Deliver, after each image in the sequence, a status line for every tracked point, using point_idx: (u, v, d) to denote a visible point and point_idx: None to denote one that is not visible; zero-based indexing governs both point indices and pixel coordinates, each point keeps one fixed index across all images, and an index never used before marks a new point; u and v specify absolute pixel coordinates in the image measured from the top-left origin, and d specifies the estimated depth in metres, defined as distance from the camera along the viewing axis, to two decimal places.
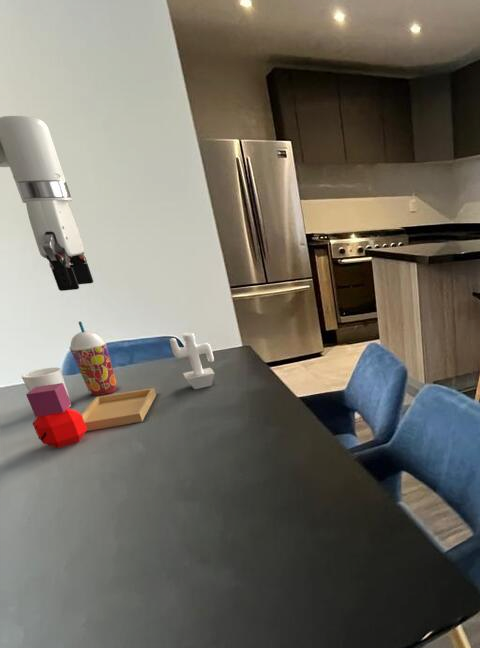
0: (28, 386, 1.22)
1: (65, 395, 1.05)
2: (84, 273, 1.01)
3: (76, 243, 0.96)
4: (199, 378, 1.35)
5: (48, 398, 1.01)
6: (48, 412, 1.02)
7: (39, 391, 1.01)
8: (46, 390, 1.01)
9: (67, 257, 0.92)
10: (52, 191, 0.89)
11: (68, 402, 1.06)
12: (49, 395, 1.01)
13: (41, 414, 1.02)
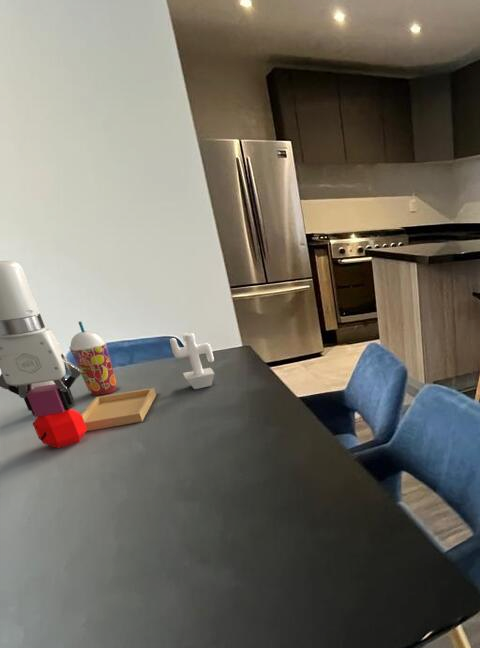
0: None
1: None
2: None
3: None
4: (199, 378, 1.35)
5: (48, 398, 1.01)
6: (48, 412, 1.02)
7: (39, 391, 1.01)
8: (46, 390, 1.01)
9: None
10: None
11: None
12: (49, 395, 1.01)
13: (41, 414, 1.02)
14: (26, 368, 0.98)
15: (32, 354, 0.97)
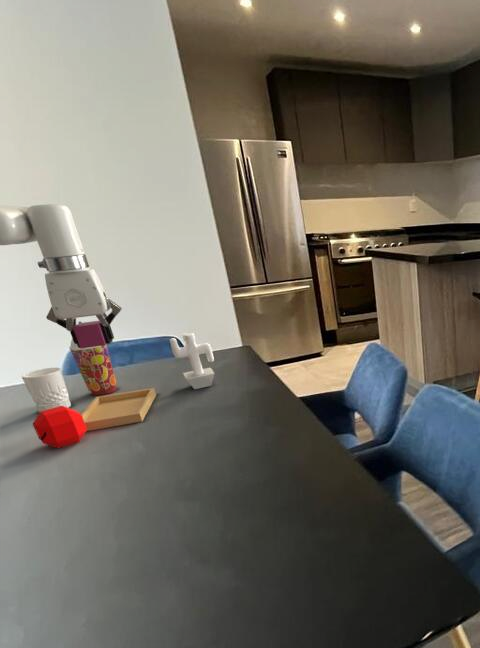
0: (28, 386, 1.22)
1: None
2: None
3: None
4: (199, 378, 1.35)
5: (92, 331, 1.12)
6: (92, 344, 1.13)
7: (84, 325, 1.12)
8: (90, 324, 1.12)
9: None
10: None
11: None
12: (92, 329, 1.12)
13: (85, 346, 1.13)
14: (73, 302, 1.09)
15: (78, 290, 1.09)
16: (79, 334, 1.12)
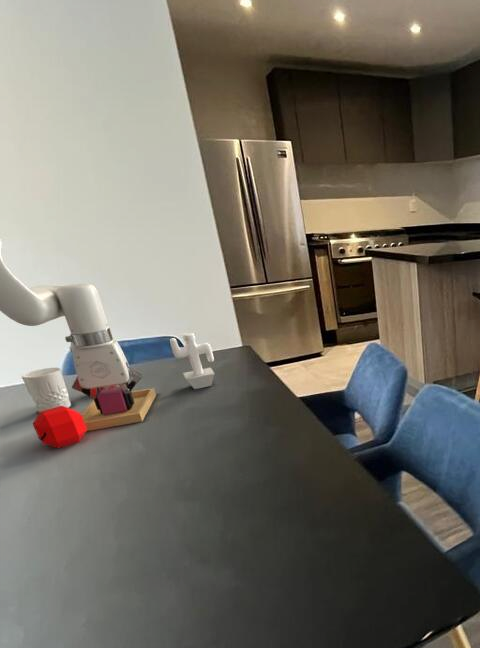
0: (28, 386, 1.22)
1: None
2: None
3: None
4: (199, 378, 1.35)
5: (114, 399, 1.19)
6: (114, 411, 1.20)
7: (107, 393, 1.19)
8: (113, 392, 1.19)
9: None
10: None
11: None
12: (115, 397, 1.19)
13: (108, 413, 1.19)
14: (98, 374, 1.16)
15: (103, 362, 1.15)
16: (102, 402, 1.18)
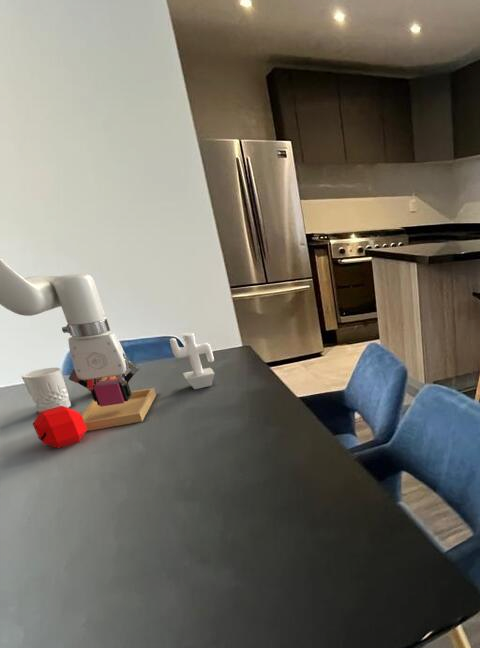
0: (28, 386, 1.22)
1: None
2: None
3: None
4: (199, 378, 1.35)
5: (111, 390, 1.18)
6: (111, 403, 1.19)
7: (104, 385, 1.18)
8: (110, 384, 1.18)
9: None
10: None
11: None
12: (112, 388, 1.18)
13: (105, 404, 1.19)
14: (95, 365, 1.15)
15: (100, 353, 1.14)
16: (99, 393, 1.17)
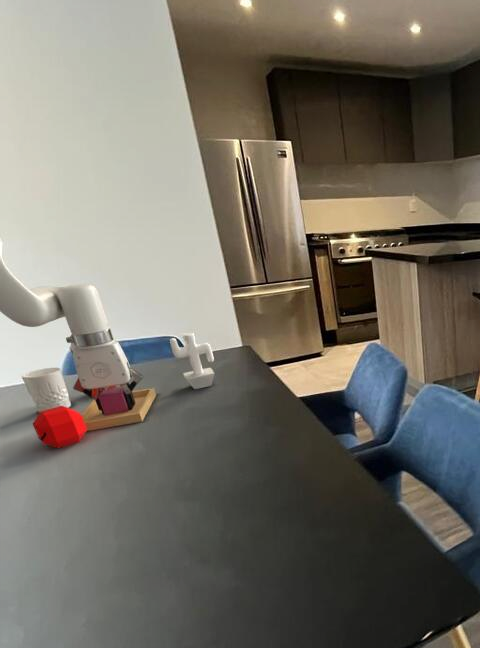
0: (28, 386, 1.22)
1: None
2: None
3: None
4: (199, 378, 1.35)
5: (116, 399, 1.19)
6: (115, 411, 1.20)
7: (108, 394, 1.19)
8: (114, 393, 1.19)
9: None
10: None
11: None
12: (116, 397, 1.19)
13: (109, 413, 1.20)
14: (99, 374, 1.16)
15: (104, 363, 1.15)
16: (104, 402, 1.18)
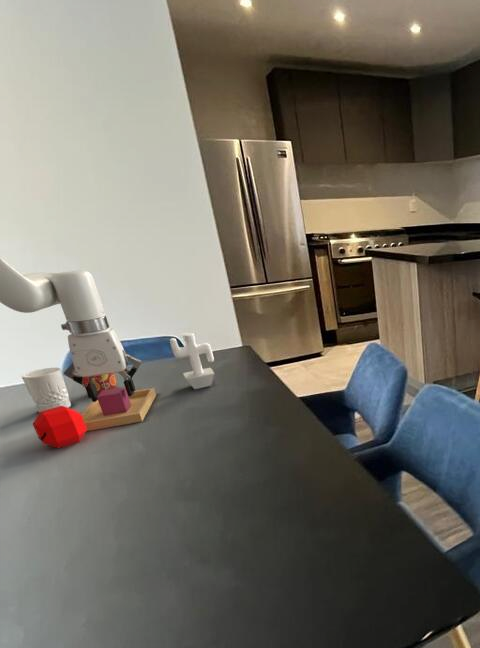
0: (28, 386, 1.22)
1: (127, 397, 1.23)
2: (96, 391, 1.20)
3: None
4: (199, 378, 1.35)
5: (114, 399, 1.19)
6: (114, 412, 1.20)
7: (107, 394, 1.19)
8: (113, 393, 1.19)
9: None
10: None
11: (129, 403, 1.24)
12: (115, 397, 1.19)
13: (108, 413, 1.20)
14: (94, 362, 1.15)
15: (99, 350, 1.14)
16: (103, 403, 1.18)
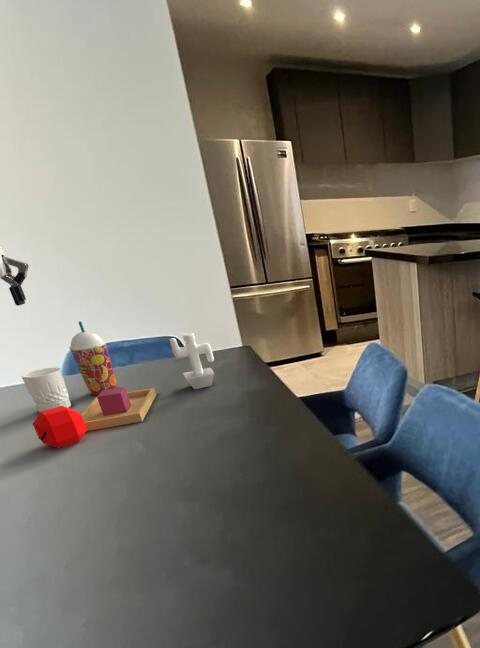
0: (28, 386, 1.22)
1: (127, 397, 1.23)
2: None
3: None
4: (199, 378, 1.35)
5: (114, 399, 1.19)
6: (114, 412, 1.20)
7: (107, 394, 1.19)
8: (113, 393, 1.19)
9: None
10: None
11: (129, 403, 1.24)
12: (115, 397, 1.19)
13: (108, 413, 1.20)
14: None
15: None
16: (103, 403, 1.18)
